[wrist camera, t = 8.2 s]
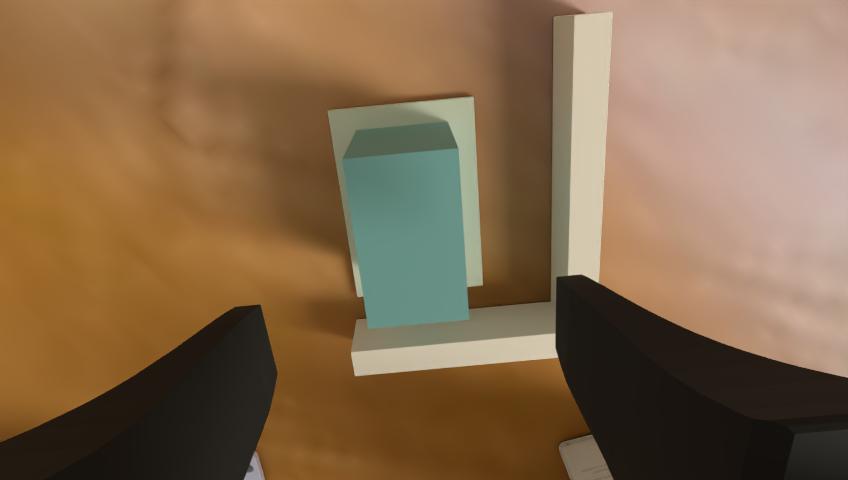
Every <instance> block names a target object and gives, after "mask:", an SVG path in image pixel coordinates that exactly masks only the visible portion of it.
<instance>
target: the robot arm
mask: <svg viewBox="0 0 848 480" xmlns="http://www.w3.org/2000/svg"><path fill="white" fill-rule="evenodd" d="M555 348H556V352H557V355H558V358H559V361H560V364H561V367H562V370H563V373H564V376H565V379H566V382H567V384H568V386H569V388H570V391H571V393H572V395H573V397H574V399H575V401H576V403H577V405H578V407H579V409H580V411H581V413H582V415H583V417H584V419H585V421H586V423H587V425H588V427H589V429H590V431H591V433H592V435H593V437H594V439H595V441H596V443H597V445H598V447H599V449H600V451H601V453H602V456H603V458H604V460H605V462H606V464H607V466H608V469H609V471H610V473H611V475H612V478H613V480H848V378H846V377H841V376H837V375H832V374H828V373H824V372H819V371H815V370H810V369H806V368H802V367H798V366H794V365H790V364H787V363H783V362H779V361H775V360H772V359H769V358H766V357H762V356H759V355H756V354H752V353H749V352H746V351H743V350H740V349H737V348H734V347H731V346H728V345H725V344H722V343H720V342H717V341H715V340H712V339H710V338H707V337H704V336H702V335H699V334H697V333H694V332H692V331H690V330H687V329H685V328H683V327H681V326H678V325H676V324H674V323H672V322H670V321H668V320H666V319H664V318H662V317H660V316H658V315H656V314H654V313H652V312H650V311H648V310H646V309H644V308H642V307H640V306H638V305H637V304H635V303H633V302H631V301H629V300H627V299H626V298H624V297H622V296H620V295H619V294H617V293H615V292H613V291H612V290H610V289H608V288H606V287H605V286H603V285H601V284H599V283H598V282H596V281H594V280H592V279H590V278H588V277H586V276H584V275H582V274H581V275H570V276H560V277H556V334H555ZM276 379H277V370H276V366H275V361H274V357H273V353H272V349H271V345H270V341H269V337H268V333H267V329H266V325H265V321H264V317H263V313H262V309H261V305H251V306H240V307H235V308H233V309H231V310H229V311H228V312H226V313H224V314H223V315H221V316H220V317H218V318H217V319H216V320H214V321H213V322H211V323H210V324H209V325H207V326H206V327H204V328H203V329H202V330H200V331H199V332H197V333H196V334H195V335H193V336H192V337H190V338H189V339H188V340H186V341H185V342H183V343H182V344H181V345H179V346H178V347H177V348H175V349H174V350H172V351H171V352H169V353H168V354H166V355H165V356H163V357H162V358H160V359H159V360H157V361H156V362H154V363H153V364H151V365H150V366H148V367H147V368H145V369H144V370H142V371H141V372H139V373H138V374H136V375H134V376H133V377H131V378H130V379H128V380H126V381H125V382H123V383H121V384H120V385H118V386H116V387H114V388H113V389H111V390H109V391H107V392H105V393H104V394H102V395H100V396H98V397H96V398H95V399H93V400H91V401H89V402H87V403H85V404H83V405H81V406H79V407H77V408H75V409H73V410H71V411H69V412H67V413H65V414H63V415H61V416H58V417H56V418H54V419H52V420H50V421H48V422H46V423H44V424H42V425H40V426H38V427H36V428H33V429H31V430H29V431H26V432H24V433H22V434H19V435H17V436H15V437H12V438H10V439H8V440H5V441H3V442H0V480H265V477H264V474H263V470H262V467H261V464H260V460H259V457H258V454H257V452H256V451H255V449H256V447H257V444H258V441H259V439H260V436H261V433H262V430H263V428H264V425H265V422H266V419H267V416H268V414H269V411H270V407H271V402H272V398H273V394H274V389H275V384H276ZM249 465H251V466H249Z"/></svg>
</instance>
